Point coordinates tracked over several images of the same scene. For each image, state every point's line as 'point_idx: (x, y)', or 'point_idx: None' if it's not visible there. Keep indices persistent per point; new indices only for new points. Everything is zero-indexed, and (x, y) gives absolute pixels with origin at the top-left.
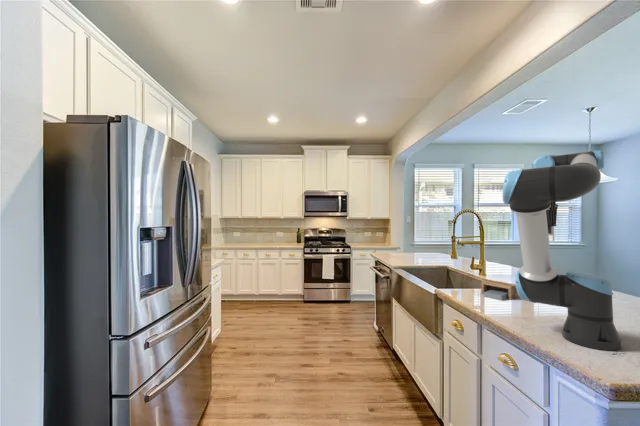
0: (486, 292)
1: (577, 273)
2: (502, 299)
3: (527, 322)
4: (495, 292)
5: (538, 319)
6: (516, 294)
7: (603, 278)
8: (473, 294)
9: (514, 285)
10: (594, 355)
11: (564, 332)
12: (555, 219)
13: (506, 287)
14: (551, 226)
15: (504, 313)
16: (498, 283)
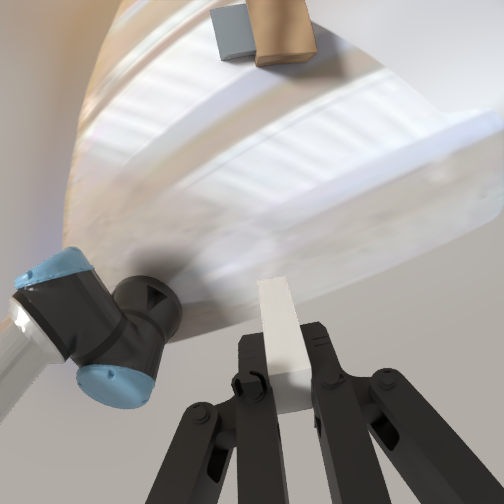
0: (212, 15)
1: (99, 384)
2: (227, 58)
3: (120, 212)
4: (240, 25)
5: (159, 207)
6: (293, 60)
7: (128, 406)
8: None
9: (294, 49)
10: None
11: (112, 293)
12: (391, 452)
13: (255, 44)
14: (288, 405)
15: (124, 147)
16: (271, 9)
